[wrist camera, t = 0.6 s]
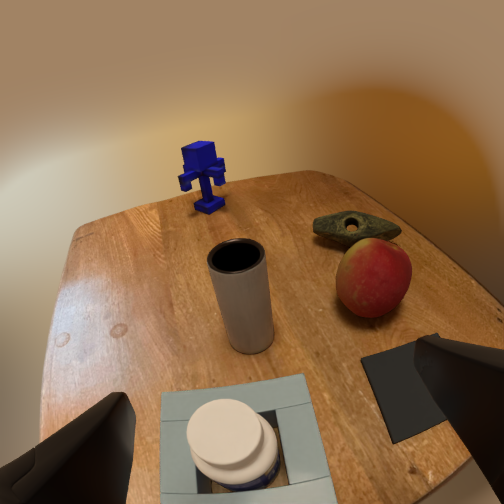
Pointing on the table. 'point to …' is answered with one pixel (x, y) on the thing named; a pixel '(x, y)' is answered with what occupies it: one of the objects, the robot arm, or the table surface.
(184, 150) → the figurine
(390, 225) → the decorative stone
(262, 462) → the pill bottle
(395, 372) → the mat
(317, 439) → the stand
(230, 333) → the grey cylindrical tube
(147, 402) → the table surface
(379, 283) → the apple
